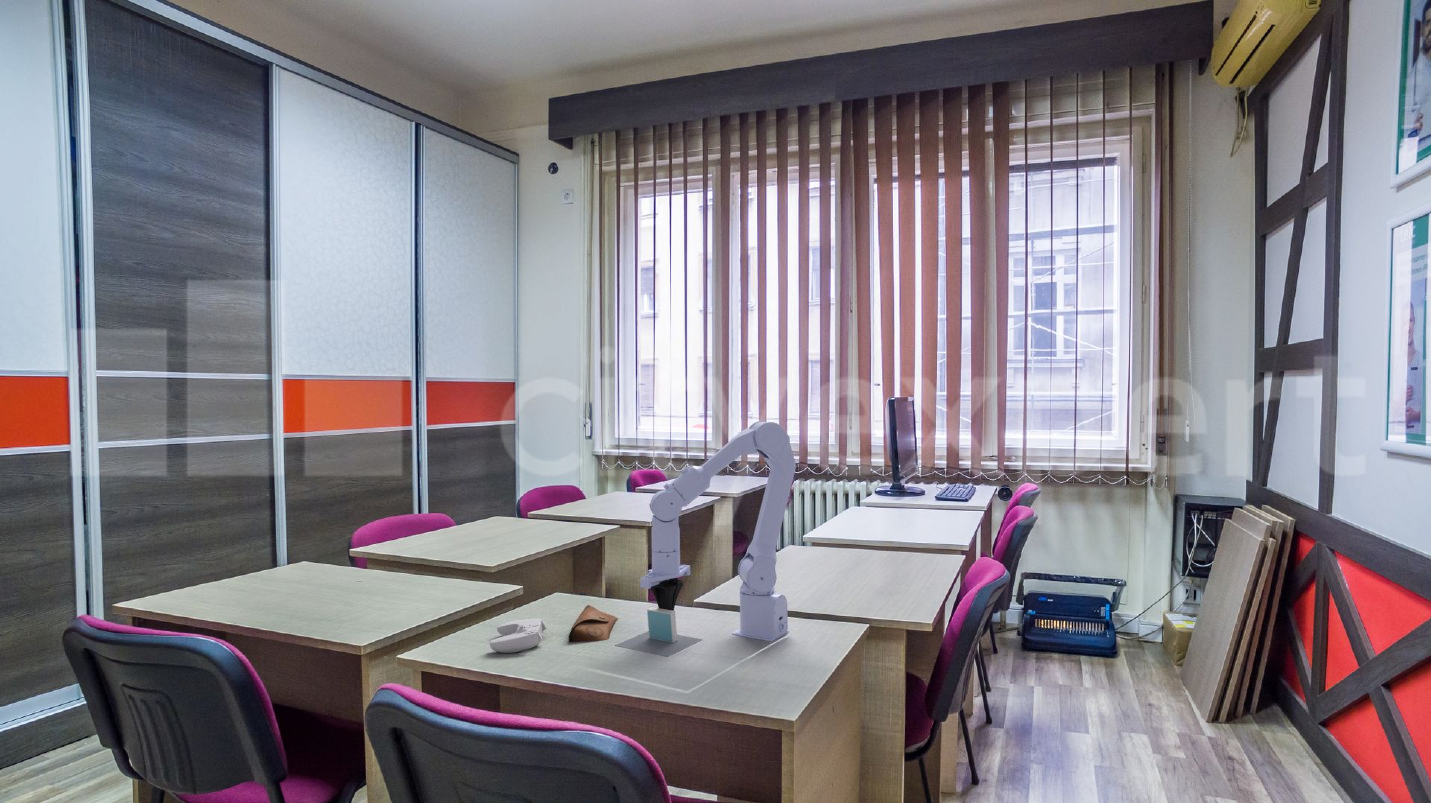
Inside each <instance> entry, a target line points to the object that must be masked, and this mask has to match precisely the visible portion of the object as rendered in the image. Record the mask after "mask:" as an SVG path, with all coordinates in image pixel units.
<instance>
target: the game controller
mask: <svg viewBox="0 0 1431 803" xmlns="http://www.w3.org/2000/svg"><path fill="white" fill-rule="evenodd" d="M547 628H548V627H547V625H546V623H545V621H544V620H543V619H542V618H526V619H525V618H524V619H519V620H512V621H507V622H504V623H502V624H500V625H498V626H497V627H496V629H497V630H496V631H497V633H498V634H500V635H502V636H500V637H498V638H493V639H492V640H489V645H490V649H491V650H492V651H494V652H496V653H501V654H513V653H521V651H525V650H529V649H533V648H535V647H536V646H539V645H540V643H541V642H542V641H543V640H544V638H543V637H542V634H543V633H544V631H545V630H546V629H547Z"/></svg>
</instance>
